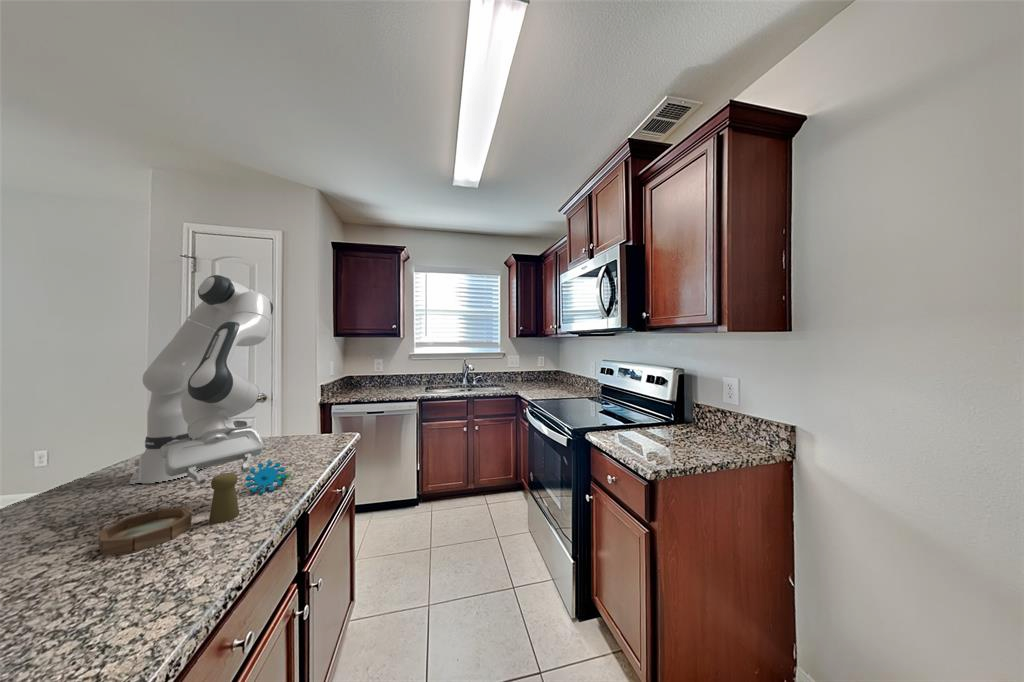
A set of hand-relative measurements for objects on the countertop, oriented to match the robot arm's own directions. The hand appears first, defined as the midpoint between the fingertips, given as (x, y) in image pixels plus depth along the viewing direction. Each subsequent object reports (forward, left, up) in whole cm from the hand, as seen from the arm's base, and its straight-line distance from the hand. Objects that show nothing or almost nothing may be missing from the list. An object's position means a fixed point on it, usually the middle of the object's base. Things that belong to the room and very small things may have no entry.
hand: (224, 476), depth 90 cm
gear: (-8, +12, -10) cm, 18 cm away
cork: (+3, -1, -10) cm, 10 cm away
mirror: (-1, -14, -9) cm, 17 cm away
